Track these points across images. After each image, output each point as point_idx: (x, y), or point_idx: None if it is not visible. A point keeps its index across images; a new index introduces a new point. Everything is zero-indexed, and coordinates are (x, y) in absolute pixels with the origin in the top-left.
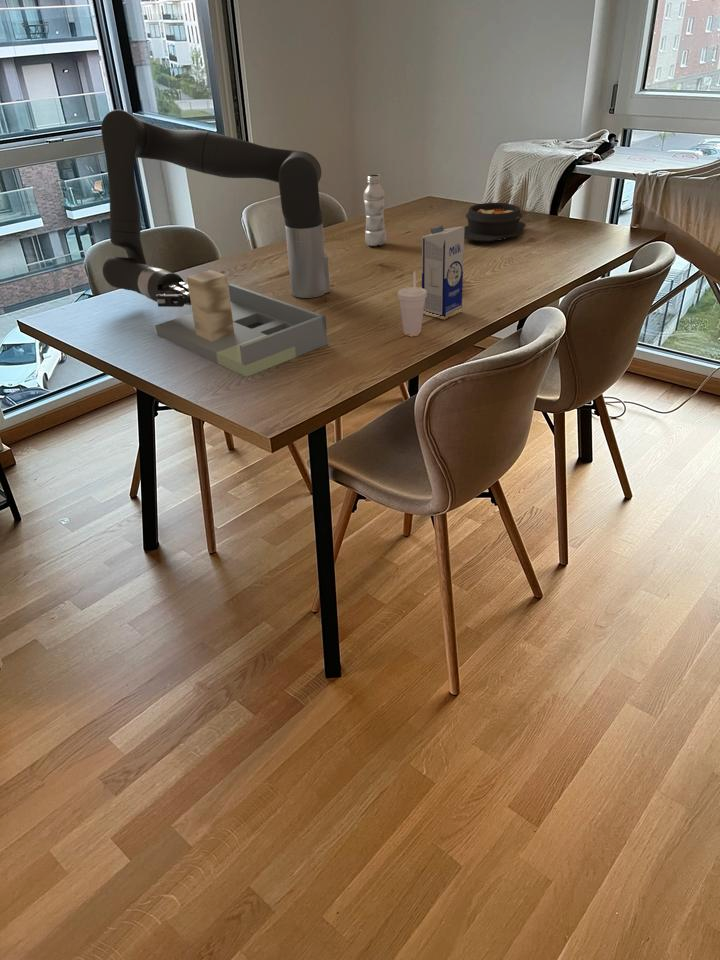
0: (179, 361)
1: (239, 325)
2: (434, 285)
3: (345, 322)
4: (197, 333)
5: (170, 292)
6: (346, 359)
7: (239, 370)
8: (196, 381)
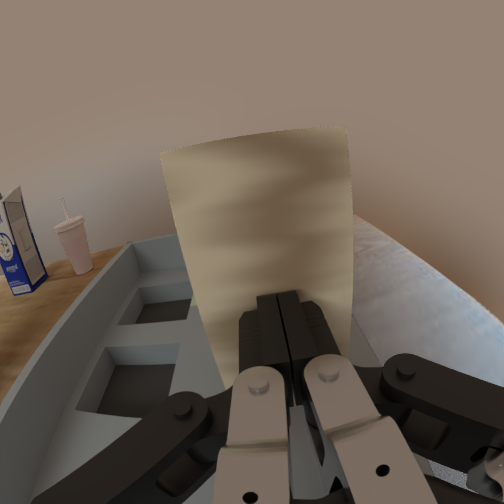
0: (413, 344)
1: (178, 380)
2: (28, 247)
3: (57, 320)
4: None
5: (466, 496)
6: None
7: None
8: (387, 273)
